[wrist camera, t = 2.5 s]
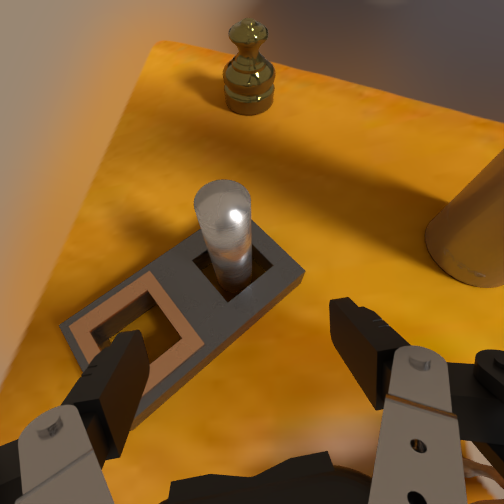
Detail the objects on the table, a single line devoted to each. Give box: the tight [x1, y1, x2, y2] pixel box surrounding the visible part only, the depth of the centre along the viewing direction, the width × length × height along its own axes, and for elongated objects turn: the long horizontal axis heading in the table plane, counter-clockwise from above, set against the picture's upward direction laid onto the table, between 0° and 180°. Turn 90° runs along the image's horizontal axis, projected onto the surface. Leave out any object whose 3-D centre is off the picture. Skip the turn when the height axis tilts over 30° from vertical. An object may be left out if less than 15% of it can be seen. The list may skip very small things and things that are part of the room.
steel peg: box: [194, 180, 252, 292], centre depth 22 cm, size 4×4×12 cm
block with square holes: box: [59, 220, 305, 431], centre depth 25 cm, size 19×10×3 cm, turn 131°
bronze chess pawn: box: [223, 18, 275, 115], centre depth 37 cm, size 7×7×10 cm
